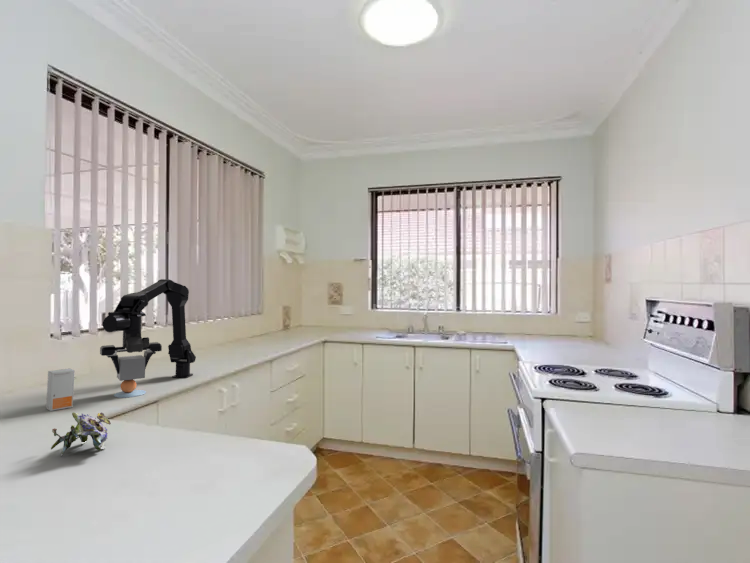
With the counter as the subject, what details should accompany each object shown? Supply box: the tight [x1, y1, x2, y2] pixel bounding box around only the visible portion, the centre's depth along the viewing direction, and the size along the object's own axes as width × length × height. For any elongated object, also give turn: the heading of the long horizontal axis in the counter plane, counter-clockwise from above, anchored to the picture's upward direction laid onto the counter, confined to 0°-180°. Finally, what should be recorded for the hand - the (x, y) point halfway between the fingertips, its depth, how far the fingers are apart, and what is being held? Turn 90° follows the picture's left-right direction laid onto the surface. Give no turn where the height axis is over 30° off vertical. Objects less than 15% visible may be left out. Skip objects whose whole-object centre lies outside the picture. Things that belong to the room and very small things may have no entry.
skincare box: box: [45, 368, 75, 412], centre depth 129 cm, size 6×4×12 cm
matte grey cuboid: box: [116, 354, 146, 382], centre depth 148 cm, size 8×8×7 cm
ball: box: [120, 379, 137, 393], centre depth 149 cm, size 5×5×5 cm
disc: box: [113, 389, 147, 399], centre depth 147 cm, size 10×10×1 cm
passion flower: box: [50, 412, 112, 455], centre depth 96 cm, size 11×11×12 cm
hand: (131, 372), depth 148 cm, fingers closed on matte grey cuboid, 8 cm apart
